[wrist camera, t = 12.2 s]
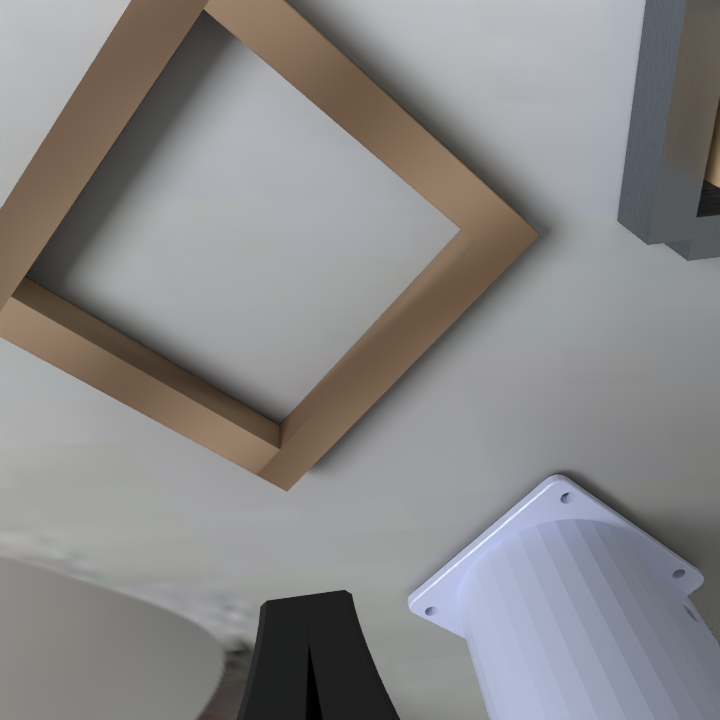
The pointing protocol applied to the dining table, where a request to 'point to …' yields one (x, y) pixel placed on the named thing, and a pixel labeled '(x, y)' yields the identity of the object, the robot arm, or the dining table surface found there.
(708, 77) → the socket block
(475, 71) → the dining table surface
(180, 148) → the dining table surface
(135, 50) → the stand collar
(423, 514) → the dining table surface
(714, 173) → the oak peg
